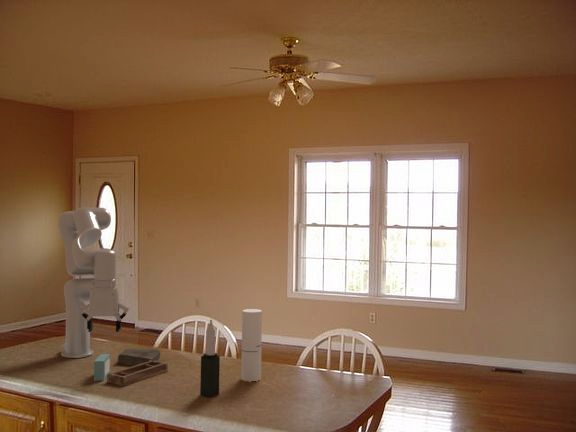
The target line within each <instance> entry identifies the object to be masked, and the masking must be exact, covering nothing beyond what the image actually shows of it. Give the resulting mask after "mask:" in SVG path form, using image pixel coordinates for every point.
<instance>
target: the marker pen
mask: <svg viewBox="0 0 576 432" xmlns="http://www.w3.org/2000/svg"><path fill="white" fill-rule="evenodd" d="M213 324H214V323H213V319H209V324H208V327H207V328H206V336H205V337H206V339H205V343H206V344H205V353H203V355H201V356H200V386H199V387H200V392H199V393H200V394H199V395H200V396H201V397H205V398H214V397H215V396H218V395H220V365H221V364H220V362H221V361H220V360H221V359H220V355H218V353H216V328H215V327H214V325H213Z"/></svg>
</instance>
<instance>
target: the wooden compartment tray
mask: <svg viewBox="0 0 576 432" xmlns="http://www.w3.org/2000/svg"><path fill="white" fill-rule="evenodd" d="M168 365H169V364H168V363H167V362H162V361H159V360H157V361H153V360H150V361H148V362H145V363H142V364H139V365H136V366H129V367H126V368H123V369H120V370H117V371H114V372H111V373H108V374H107V377H106V382H107V383H108V384H112V385H113V384H114V385H117V386H121V387H126V386H130V385H133V384H135V383H138V382H140V381H141V382H142V381H143V380H147V379H150V378H151V377H155V376H158V375H161V374H164V373H166V372H168V370H169V369H168Z"/></svg>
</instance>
